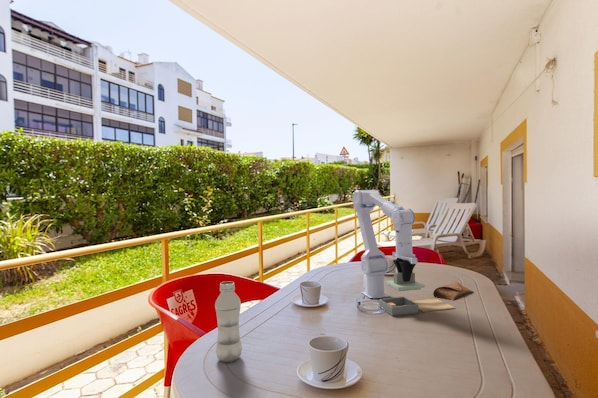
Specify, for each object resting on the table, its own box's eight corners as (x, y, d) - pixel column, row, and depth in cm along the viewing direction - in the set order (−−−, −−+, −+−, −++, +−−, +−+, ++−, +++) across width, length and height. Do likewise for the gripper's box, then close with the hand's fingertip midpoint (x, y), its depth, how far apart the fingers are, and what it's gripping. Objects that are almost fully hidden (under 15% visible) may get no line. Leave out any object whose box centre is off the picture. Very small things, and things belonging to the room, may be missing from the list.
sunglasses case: (453, 301, 135) (444, 284, 137) (439, 306, 139) (430, 290, 142) (474, 291, 146) (466, 276, 149) (460, 297, 151) (452, 282, 154)
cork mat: (403, 301, 136) (403, 300, 136) (433, 298, 139) (433, 297, 139) (422, 312, 124) (422, 311, 124) (455, 308, 126) (455, 307, 126)
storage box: (379, 307, 130) (378, 299, 130) (403, 304, 132) (403, 296, 132) (392, 316, 120) (391, 307, 120) (418, 313, 123) (418, 304, 123)
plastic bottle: (218, 354, 95) (215, 280, 95) (243, 353, 95) (241, 279, 95) (214, 366, 88) (211, 287, 88) (241, 364, 89) (239, 285, 89)
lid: (385, 285, 131) (385, 271, 131) (410, 283, 133) (409, 269, 133) (398, 292, 121) (398, 277, 121) (424, 289, 124) (424, 275, 124)
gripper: (425, 244, 121) (425, 284, 121) (404, 239, 135) (404, 275, 135) (406, 246, 120) (407, 285, 120) (387, 240, 134) (387, 276, 134)
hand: (404, 280), depth 127 cm, fingers closed on lid, 2 cm apart
